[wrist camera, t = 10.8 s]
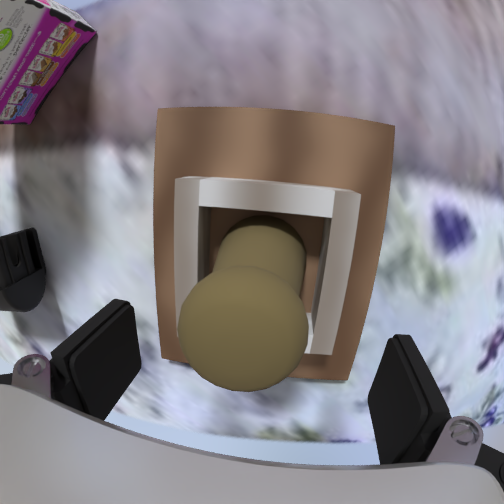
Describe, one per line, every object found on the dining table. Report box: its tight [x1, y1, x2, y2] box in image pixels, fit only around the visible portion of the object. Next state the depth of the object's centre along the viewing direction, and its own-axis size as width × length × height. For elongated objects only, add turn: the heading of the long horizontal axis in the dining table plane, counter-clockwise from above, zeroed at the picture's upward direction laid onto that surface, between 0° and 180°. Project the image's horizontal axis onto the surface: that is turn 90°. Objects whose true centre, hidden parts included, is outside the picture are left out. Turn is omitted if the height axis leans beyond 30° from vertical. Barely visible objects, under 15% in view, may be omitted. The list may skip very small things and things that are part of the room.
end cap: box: [0, 228, 46, 312], centre depth 22 cm, size 10×7×7 cm
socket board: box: [153, 107, 395, 380], centre depth 20 cm, size 16×20×4 cm
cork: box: [177, 215, 309, 392], centre depth 15 cm, size 6×6×11 cm
